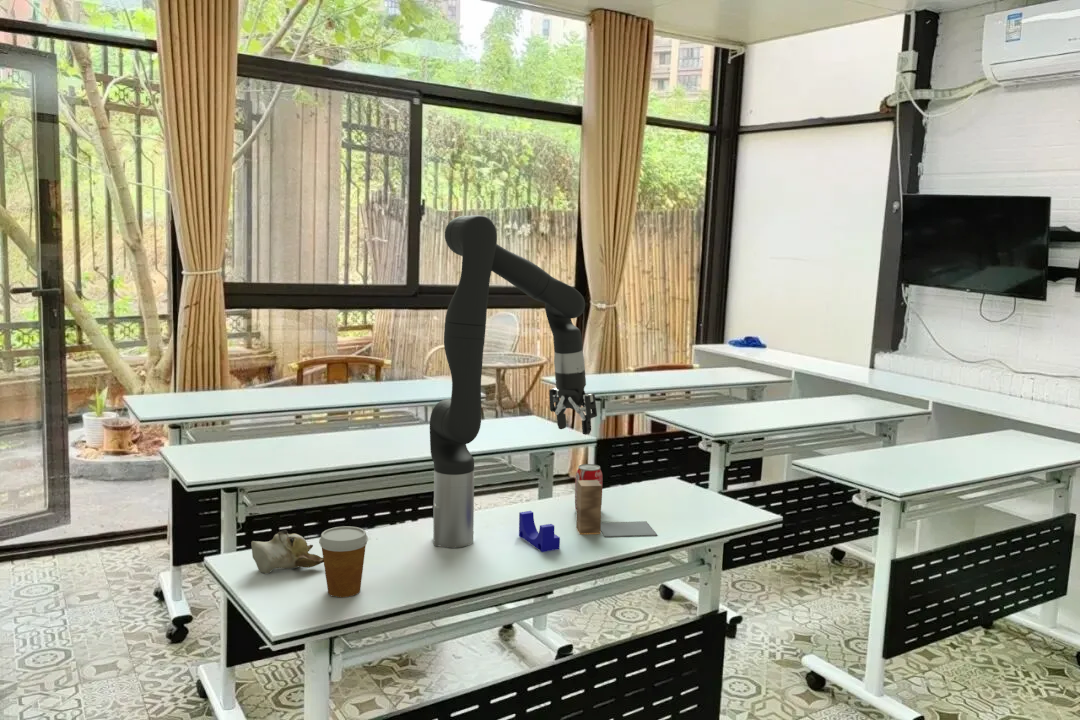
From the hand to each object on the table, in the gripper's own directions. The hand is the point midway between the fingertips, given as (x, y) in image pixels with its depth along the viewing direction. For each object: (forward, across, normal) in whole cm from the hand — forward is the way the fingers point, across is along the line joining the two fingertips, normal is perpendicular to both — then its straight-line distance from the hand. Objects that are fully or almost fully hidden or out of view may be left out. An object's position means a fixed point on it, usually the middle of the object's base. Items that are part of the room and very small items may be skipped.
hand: (574, 431), depth 222 cm
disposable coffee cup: (+14, +4, -71) cm, 73 cm away
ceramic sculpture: (+14, -15, -74) cm, 76 cm away
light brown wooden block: (+22, +10, -7) cm, 25 cm away
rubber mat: (+23, +15, 0) cm, 27 cm away
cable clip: (+20, +8, -22) cm, 31 cm away
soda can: (+23, -1, +4) cm, 23 cm away
